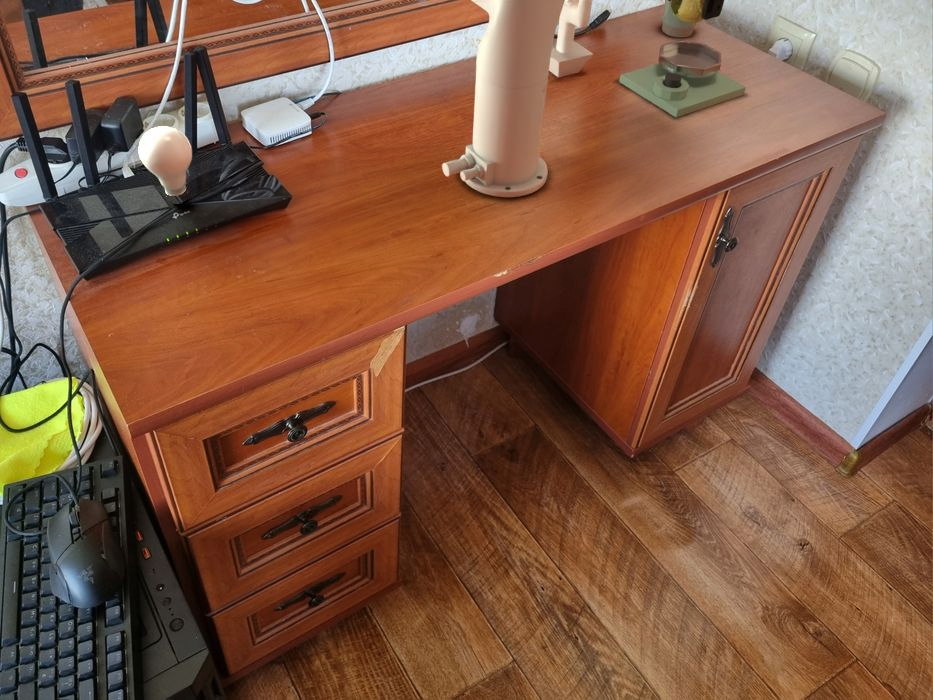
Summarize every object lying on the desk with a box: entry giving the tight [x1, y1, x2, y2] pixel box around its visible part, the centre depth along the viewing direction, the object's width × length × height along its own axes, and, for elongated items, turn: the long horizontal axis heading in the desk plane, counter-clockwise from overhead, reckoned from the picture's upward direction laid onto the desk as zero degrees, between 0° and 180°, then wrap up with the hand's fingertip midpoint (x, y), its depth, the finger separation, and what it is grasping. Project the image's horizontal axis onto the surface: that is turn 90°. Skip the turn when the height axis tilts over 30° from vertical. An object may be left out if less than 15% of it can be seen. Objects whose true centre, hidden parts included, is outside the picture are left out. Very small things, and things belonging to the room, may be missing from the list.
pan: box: [658, 39, 722, 78], centre depth 134 cm, size 10×10×2 cm
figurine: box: [549, 0, 594, 78], centre depth 132 cm, size 7×9×15 cm
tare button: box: [664, 73, 681, 88], centre depth 129 cm, size 3×3×2 cm
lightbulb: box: [138, 125, 193, 196], centre depth 102 cm, size 6×6×11 cm
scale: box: [618, 62, 747, 118], centre depth 134 cm, size 16×14×3 cm
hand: (692, 7), depth 114 cm, fingers closed on tennis ball, 6 cm apart
